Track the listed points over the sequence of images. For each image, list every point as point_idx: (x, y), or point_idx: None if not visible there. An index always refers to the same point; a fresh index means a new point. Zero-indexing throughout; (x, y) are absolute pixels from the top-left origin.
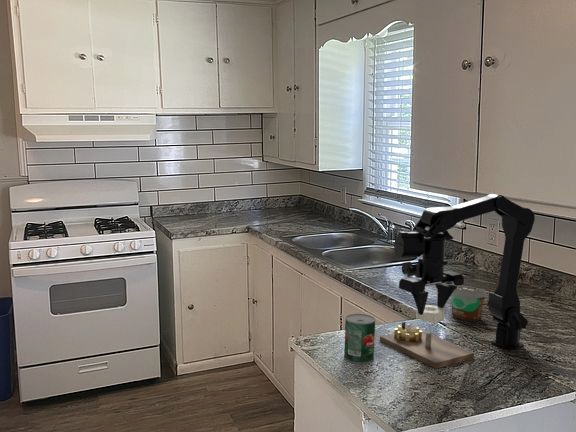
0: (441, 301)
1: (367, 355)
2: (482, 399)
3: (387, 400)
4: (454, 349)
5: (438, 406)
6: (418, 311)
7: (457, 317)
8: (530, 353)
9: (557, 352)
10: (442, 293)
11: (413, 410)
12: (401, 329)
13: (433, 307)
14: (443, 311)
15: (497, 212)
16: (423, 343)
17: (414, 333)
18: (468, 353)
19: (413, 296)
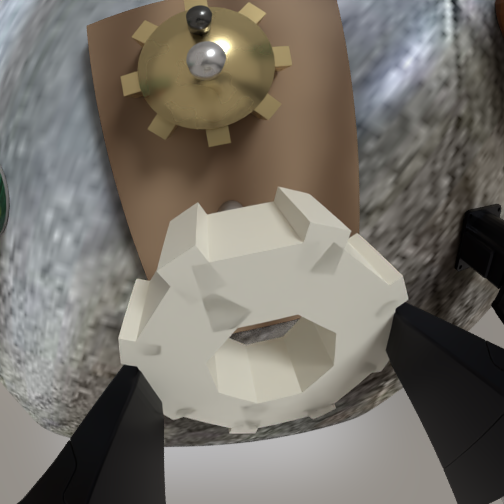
0: (420, 385)
1: None
2: (200, 431)
3: (32, 392)
4: None
5: None
6: (124, 370)
7: (500, 21)
8: (465, 290)
9: (490, 294)
10: (469, 440)
11: (70, 421)
12: (163, 54)
13: (339, 333)
14: (325, 411)
15: None
16: (238, 165)
17: (207, 129)
18: None
19: (33, 495)
